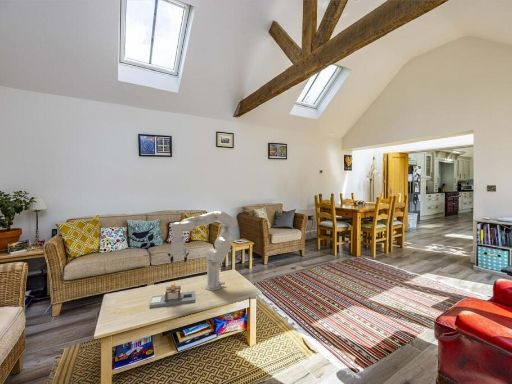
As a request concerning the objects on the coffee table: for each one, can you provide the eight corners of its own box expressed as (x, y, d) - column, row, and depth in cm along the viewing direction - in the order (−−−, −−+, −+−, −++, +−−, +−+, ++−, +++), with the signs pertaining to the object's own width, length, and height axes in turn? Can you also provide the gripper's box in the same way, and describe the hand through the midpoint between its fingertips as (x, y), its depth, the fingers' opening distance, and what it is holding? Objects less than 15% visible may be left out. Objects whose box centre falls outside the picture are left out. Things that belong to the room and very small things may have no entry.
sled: (182, 294, 182) (181, 280, 181) (181, 298, 175) (181, 284, 175) (165, 296, 179) (164, 282, 178) (164, 300, 172) (163, 286, 172)
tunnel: (180, 294, 182) (180, 285, 182) (180, 299, 174) (180, 290, 174) (166, 295, 180) (166, 287, 180) (165, 301, 171) (165, 292, 171)
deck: (194, 293, 188) (194, 290, 187) (194, 302, 174) (194, 299, 174) (152, 298, 180) (152, 295, 180) (149, 308, 166) (149, 305, 166)
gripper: (190, 237, 183) (191, 260, 184) (167, 238, 183) (168, 260, 184) (188, 239, 176) (189, 263, 177) (164, 240, 175) (165, 264, 176)
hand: (178, 262), depth 180 cm, fingers open, 9 cm apart
